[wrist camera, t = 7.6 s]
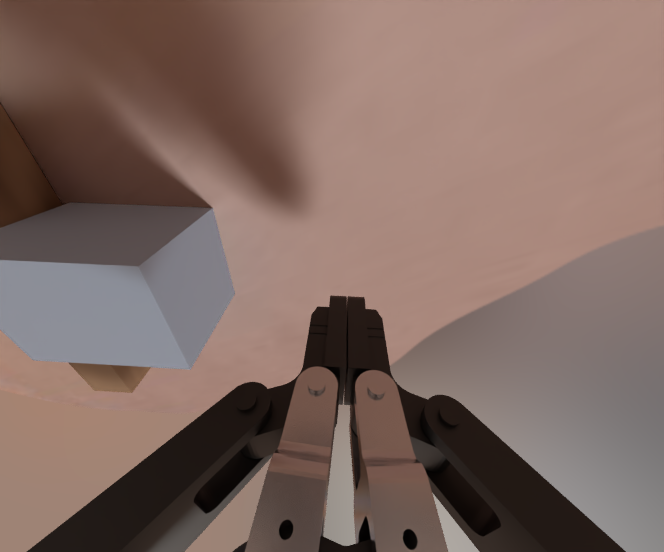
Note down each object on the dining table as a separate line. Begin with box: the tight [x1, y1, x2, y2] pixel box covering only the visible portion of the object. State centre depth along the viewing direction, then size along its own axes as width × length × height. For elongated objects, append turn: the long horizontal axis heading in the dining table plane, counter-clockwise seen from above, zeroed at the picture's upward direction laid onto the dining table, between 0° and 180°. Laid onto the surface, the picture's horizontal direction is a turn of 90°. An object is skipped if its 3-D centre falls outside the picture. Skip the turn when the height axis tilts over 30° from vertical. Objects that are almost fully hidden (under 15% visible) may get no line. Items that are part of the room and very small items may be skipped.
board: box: [0, 104, 151, 393], centre depth 14 cm, size 22×3×3 cm, turn 179°
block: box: [0, 202, 235, 370], centre depth 13 cm, size 6×8×6 cm
